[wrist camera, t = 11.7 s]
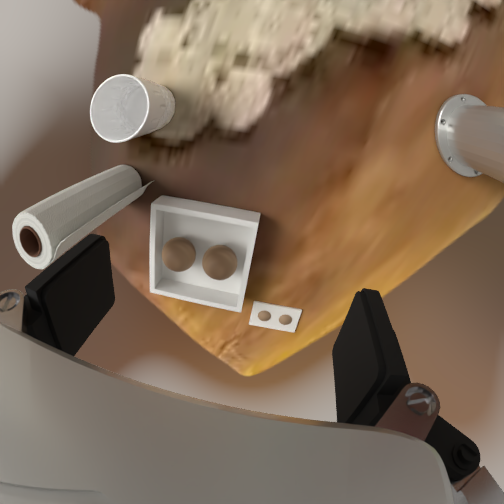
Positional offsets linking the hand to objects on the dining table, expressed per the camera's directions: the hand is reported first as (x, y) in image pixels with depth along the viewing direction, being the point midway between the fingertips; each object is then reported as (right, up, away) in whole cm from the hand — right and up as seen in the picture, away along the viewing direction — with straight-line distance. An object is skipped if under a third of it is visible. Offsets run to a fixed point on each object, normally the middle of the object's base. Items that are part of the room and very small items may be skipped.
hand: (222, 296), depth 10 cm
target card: (+5, -9, +39) cm, 40 cm away
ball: (-4, 0, +31) cm, 32 cm away
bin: (-6, +2, +34) cm, 35 cm away
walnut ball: (-10, +1, +32) cm, 33 cm away
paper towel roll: (-18, +12, +31) cm, 37 cm away
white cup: (-13, +22, +25) cm, 36 cm away
